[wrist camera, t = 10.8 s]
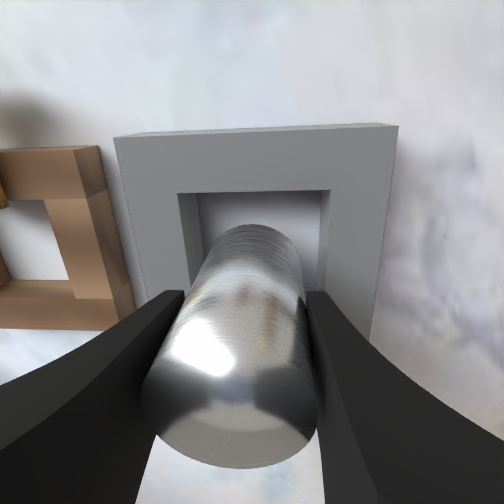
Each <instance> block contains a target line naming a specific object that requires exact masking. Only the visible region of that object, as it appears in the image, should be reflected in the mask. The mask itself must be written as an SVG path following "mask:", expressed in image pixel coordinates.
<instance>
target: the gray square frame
mask: <svg viewBox="0 0 504 504" xmlns="http://www.w3.org/2000/svg"><path fill="white" fill-rule="evenodd" d="M398 129H399V126H396V125H389V124H382V123H359V124H336V125H312V126H289V127H266V128H242V129H219V130H196V131H172V132H149V133H139V134H133V135H127V136H121V137H115V138H113V140H114V145H115V149H116V154H117V159H118V163H119V168H120V173H121V177H122V182H123V187H124V191H125V196H126V201H127V205H128V210H129V214H130V219H131V224H132V228H133V233H134V238H135V242H136V247H137V252H138V256H139V261H140V266H141V270H142V275H143V280H144V284H145V289H146V294H147V298H148V302H149V301H150V300H151V299H153V298H154V297H156V296H157V295H159V294H160V293H162V292H164V291H165V290H184V293H185V299H186V297H187V295H188V293H189V291H190V289H191V287H192V285H193V283H194V281H195V279H196V277H197V275H198V273H199V271H200V269H201V267H202V265H203V263H204V261H205V259H204V251H203V242H202V234H201V225H200V217H199V209H198V200H197V193H209V192H253V191H298V190H322V192H321V213H320V233H319V254H318V274H317V288H304V295H305V304H306V291H326V292H327V293H328V294H329V295H330V297H331V298H332V300H333V301H334V302H335V304H336V305H337V306H338V307H339V309H340V310H341V311H342V312H343V314H344V315H345V316H346V317H347V318H348V320H349V321H350V322H351V323H352V324H353V325H354V326H355V328H356V329H357V330H358V331H359V332H360V333H361V334H362V335H363V336H364V337H365V338H366V339H367V341H368V342H369V336H370V329H371V322H372V314H373V307H374V300H375V293H376V286H377V279H378V272H379V264H380V257H381V250H382V243H383V236H384V229H385V221H386V214H387V207H388V200H389V193H390V186H391V179H392V171H393V164H394V157H395V150H396V143H397V136H398Z"/></svg>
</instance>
